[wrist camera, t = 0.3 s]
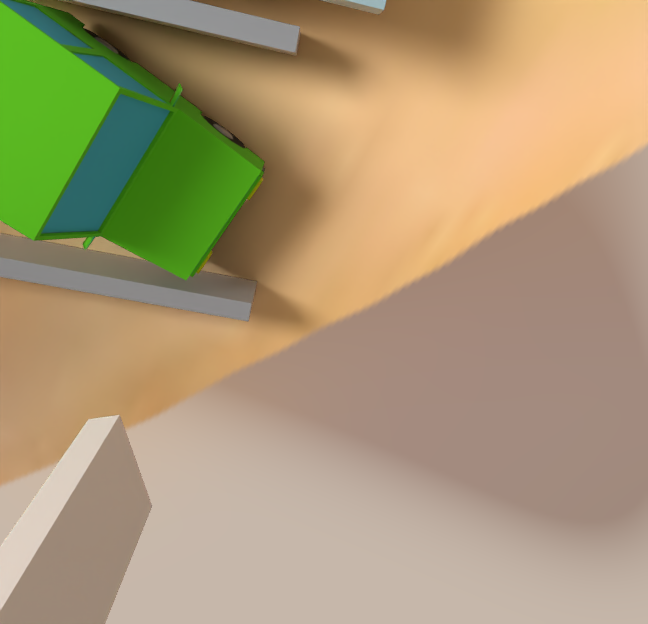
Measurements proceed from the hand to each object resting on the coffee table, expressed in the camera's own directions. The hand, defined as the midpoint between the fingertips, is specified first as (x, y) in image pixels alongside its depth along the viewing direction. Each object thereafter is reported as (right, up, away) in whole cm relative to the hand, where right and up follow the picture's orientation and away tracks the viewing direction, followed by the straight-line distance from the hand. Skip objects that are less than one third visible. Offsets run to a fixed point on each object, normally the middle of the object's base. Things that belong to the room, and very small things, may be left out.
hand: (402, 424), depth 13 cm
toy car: (-13, +13, +21) cm, 27 cm away
